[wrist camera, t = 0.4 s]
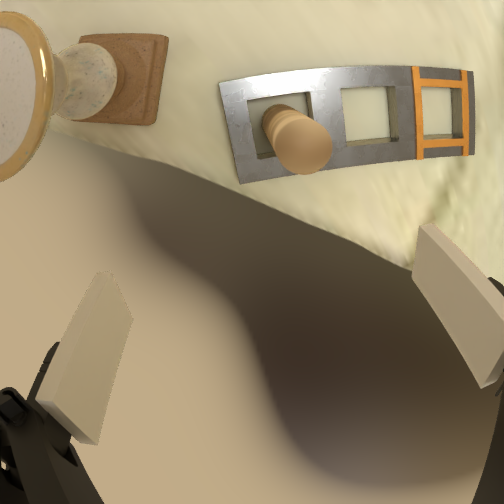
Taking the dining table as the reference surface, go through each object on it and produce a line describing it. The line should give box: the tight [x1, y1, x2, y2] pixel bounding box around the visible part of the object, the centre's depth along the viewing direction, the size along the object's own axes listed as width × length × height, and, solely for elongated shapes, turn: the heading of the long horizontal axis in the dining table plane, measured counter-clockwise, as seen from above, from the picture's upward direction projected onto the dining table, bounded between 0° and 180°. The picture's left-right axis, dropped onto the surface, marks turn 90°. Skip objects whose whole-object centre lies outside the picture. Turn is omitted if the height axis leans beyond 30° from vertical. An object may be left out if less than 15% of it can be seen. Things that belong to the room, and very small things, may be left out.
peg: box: [262, 104, 332, 175], centre depth 29 cm, size 4×4×14 cm
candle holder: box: [0, 11, 169, 182], centre depth 21 cm, size 11×11×24 cm
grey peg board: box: [219, 66, 475, 184], centre depth 33 cm, size 12×33×3 cm, turn 100°
